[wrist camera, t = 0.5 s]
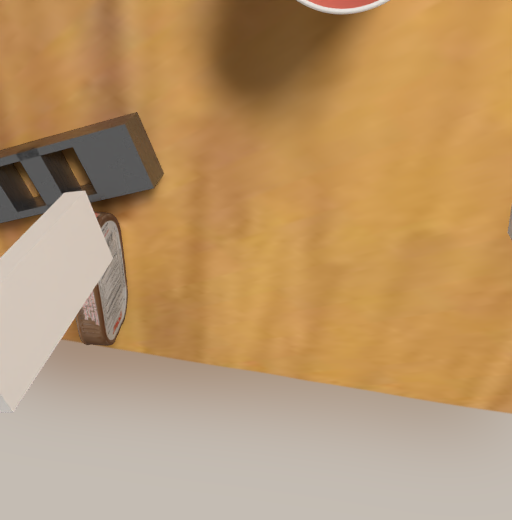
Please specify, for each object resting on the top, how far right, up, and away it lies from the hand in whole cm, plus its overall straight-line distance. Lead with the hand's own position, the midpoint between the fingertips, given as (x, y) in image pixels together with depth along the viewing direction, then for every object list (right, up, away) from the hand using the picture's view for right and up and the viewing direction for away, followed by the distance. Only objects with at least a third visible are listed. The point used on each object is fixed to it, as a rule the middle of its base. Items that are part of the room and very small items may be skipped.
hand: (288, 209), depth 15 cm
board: (-20, +7, +31) cm, 38 cm away
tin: (-16, -1, +37) cm, 40 cm away
